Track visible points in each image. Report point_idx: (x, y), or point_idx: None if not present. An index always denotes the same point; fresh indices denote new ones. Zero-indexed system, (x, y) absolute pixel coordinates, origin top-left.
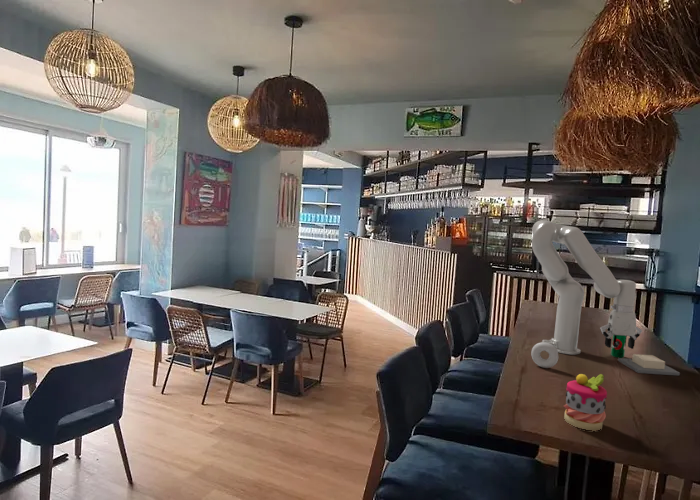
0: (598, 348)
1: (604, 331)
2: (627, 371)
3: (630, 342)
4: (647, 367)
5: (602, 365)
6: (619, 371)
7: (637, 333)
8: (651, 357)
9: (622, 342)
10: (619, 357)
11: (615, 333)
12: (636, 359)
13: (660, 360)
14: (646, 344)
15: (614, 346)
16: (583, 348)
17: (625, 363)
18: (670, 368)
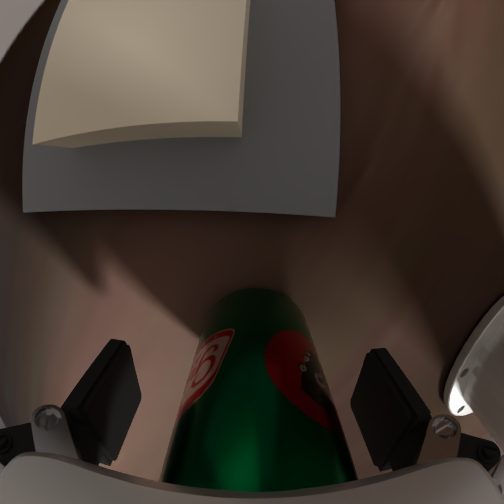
0: None
1: (498, 467)
2: (382, 3)
3: (113, 408)
4: None
5: (480, 112)
6: (428, 16)
7: (3, 464)
8: (89, 53)
9: (264, 384)
10: (266, 290)
11: (457, 474)
12: (244, 59)
13: (81, 1)
14: None
15: (322, 370)
16: None
17: (336, 96)
18: (48, 49)
